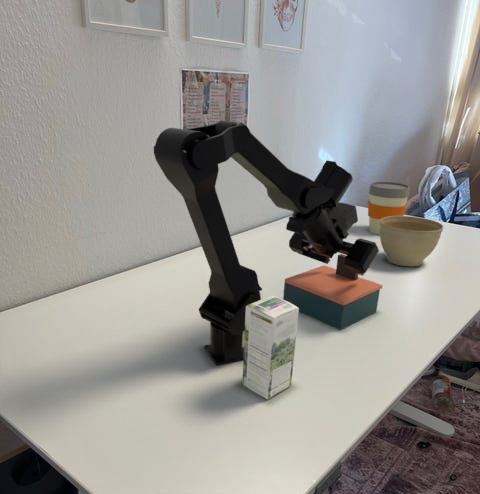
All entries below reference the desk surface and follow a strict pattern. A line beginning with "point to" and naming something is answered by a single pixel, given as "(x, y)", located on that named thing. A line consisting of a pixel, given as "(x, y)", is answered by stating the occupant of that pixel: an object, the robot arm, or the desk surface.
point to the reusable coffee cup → (386, 202)
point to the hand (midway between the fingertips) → (345, 267)
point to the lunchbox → (331, 307)
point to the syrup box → (269, 345)
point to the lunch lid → (334, 283)
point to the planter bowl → (409, 239)
